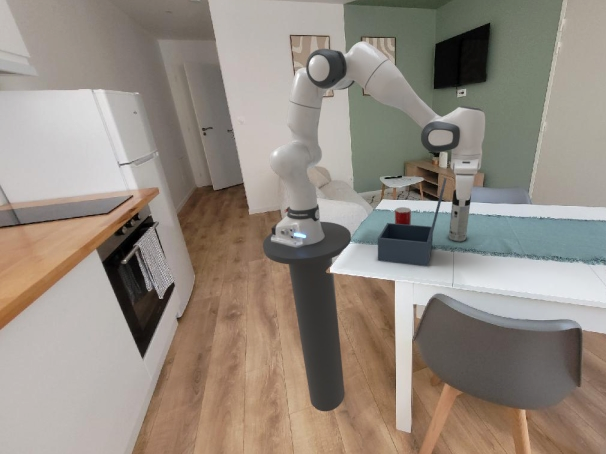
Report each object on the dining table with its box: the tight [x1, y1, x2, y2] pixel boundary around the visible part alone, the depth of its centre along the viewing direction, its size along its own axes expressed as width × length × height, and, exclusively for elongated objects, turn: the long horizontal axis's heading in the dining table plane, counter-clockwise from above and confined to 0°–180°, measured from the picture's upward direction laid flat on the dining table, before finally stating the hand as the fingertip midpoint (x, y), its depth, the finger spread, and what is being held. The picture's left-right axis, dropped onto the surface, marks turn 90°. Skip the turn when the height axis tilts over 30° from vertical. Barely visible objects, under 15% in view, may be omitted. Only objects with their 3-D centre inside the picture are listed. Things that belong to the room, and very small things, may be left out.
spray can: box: [448, 189, 472, 243], centre depth 114 cm, size 7×7×20 cm
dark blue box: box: [377, 222, 434, 267], centre depth 106 cm, size 18×15×9 cm
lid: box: [428, 177, 447, 242], centre depth 98 cm, size 18×15×1 cm
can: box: [394, 206, 412, 225], centre depth 119 cm, size 6×6×12 cm
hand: (461, 205), depth 95 cm, fingers closed
